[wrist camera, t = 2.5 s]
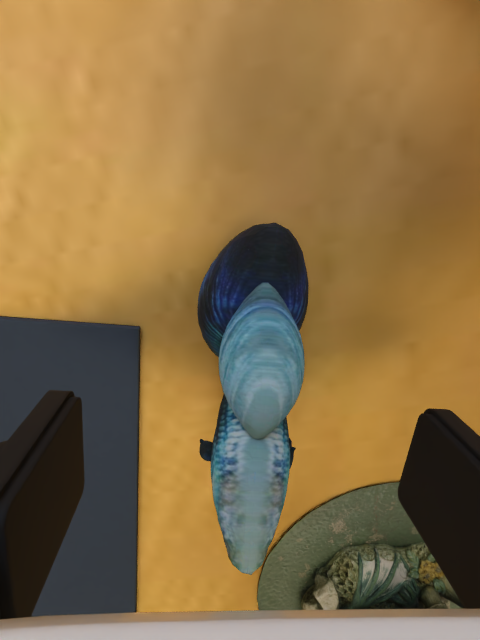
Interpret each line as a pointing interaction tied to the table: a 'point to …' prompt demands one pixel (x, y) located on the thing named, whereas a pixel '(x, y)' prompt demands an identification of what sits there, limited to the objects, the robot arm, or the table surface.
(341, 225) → the table surface
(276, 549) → the frog figurine
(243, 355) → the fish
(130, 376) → the mat
